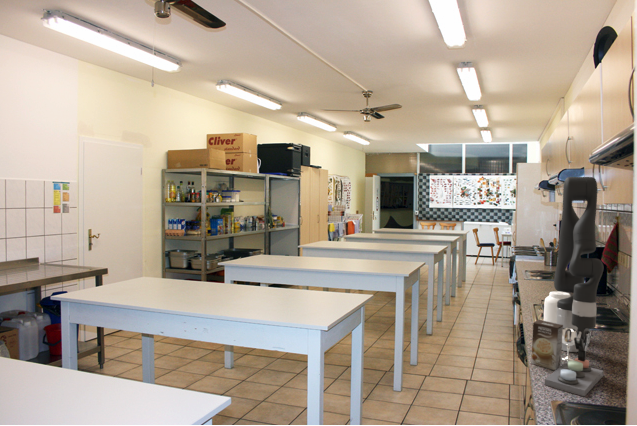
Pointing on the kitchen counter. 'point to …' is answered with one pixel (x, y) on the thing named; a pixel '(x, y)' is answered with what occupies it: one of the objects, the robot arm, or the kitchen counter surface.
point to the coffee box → (547, 344)
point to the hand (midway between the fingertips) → (581, 360)
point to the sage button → (575, 365)
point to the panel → (578, 386)
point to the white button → (568, 374)
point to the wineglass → (568, 341)
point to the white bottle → (553, 305)
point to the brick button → (585, 363)
